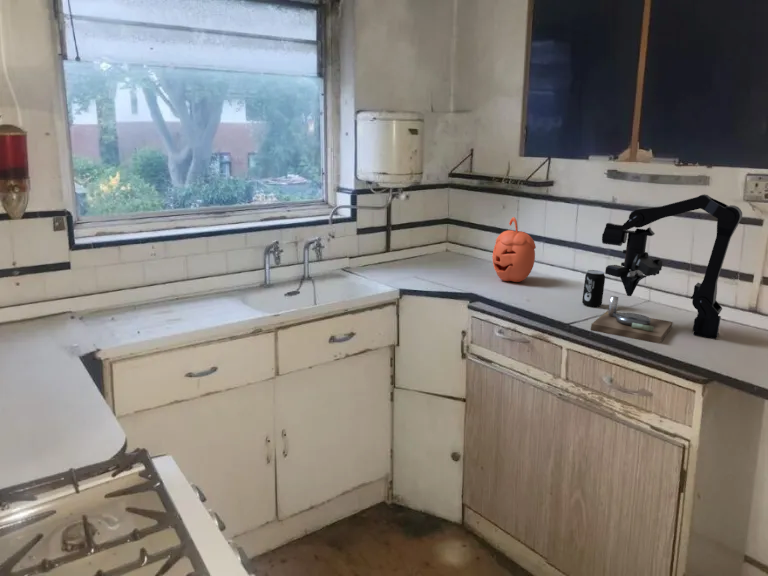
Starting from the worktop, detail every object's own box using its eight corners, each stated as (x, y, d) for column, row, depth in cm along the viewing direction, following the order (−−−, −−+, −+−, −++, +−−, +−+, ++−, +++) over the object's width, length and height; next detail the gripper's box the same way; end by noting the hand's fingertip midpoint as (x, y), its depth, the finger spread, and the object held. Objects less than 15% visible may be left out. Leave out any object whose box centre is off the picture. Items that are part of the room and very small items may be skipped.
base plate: (671, 327, 213) (673, 316, 213) (659, 343, 197) (661, 331, 196) (607, 316, 223) (608, 305, 222) (590, 330, 207) (592, 318, 206)
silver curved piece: (657, 324, 208) (659, 305, 207) (635, 328, 203) (638, 308, 201) (619, 312, 220) (621, 294, 218) (598, 315, 214) (600, 297, 213)
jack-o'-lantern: (480, 277, 271) (485, 215, 265) (511, 274, 281) (517, 214, 275) (512, 287, 257) (518, 222, 251) (544, 283, 266) (551, 220, 260)
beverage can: (602, 308, 233) (606, 274, 230) (582, 306, 234) (586, 272, 231) (600, 304, 239) (604, 270, 236) (581, 302, 240) (585, 269, 237)
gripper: (635, 254, 203) (628, 304, 207) (677, 251, 212) (669, 299, 216) (607, 247, 213) (600, 295, 216) (648, 245, 221) (641, 291, 225)
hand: (629, 295), depth 218 cm, fingers closed
